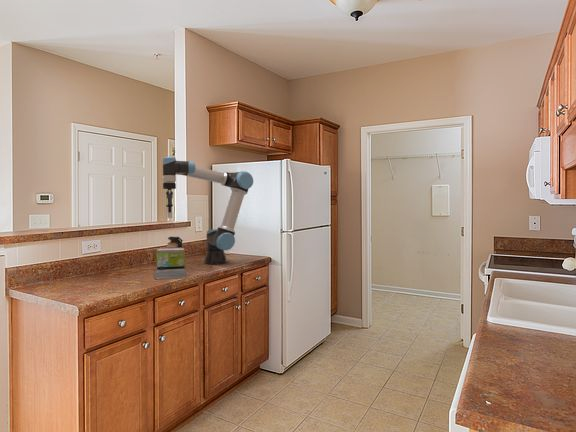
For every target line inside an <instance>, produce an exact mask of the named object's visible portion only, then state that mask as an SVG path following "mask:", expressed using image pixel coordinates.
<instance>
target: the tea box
mask: <svg viewBox="0 0 576 432" xmlns="http://www.w3.org/2000/svg"><path fill="white" fill-rule="evenodd" d="M156 268H157V273H159V272H179V271H186V249H185V248H184V247H182V248H167V247H163V248H162V247H160V248H157V247H156Z"/></svg>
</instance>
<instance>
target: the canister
mask: <svg viewBox="0 0 576 432" xmlns="http://www.w3.org/2000/svg"><path fill="white" fill-rule="evenodd" d="M167 240H169V242H167V244H166V248H183V241H184V240H183V239H182V238H180V237H179V236H169V237H168V238H167Z"/></svg>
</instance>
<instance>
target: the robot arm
mask: <svg viewBox="0 0 576 432" xmlns="http://www.w3.org/2000/svg"><path fill="white" fill-rule="evenodd" d="M177 175H179V176H184V177H189V178H190V177H191V178H193V179H194V178H195V179H198V180H204V181H208V182H213V183H216V184H220V185H222V186H224V187H228V188H230V190H231V193H230V197H229V200H228V202H227V206H226V209H225V212H224V216H223V219H222V221H221V225H219V226H218V227H217V228H216V229H215V228H214V229H213V228H212V229H208V230H207V231H206V235H205V236H206V254H205V257H204V259H203V260H204V262H203V263H204V264H206V265H222V264H227V261H228V260H227V256H226V253H225V251H228V250H231V249H232V248H233V247H234V246H235V243H236V237H235V234H236V231H235V226H236V223H237V221H238V217H239V214H240V210H241V207H242V203H243V200H244V197H245V195H247V194H248V193H249V189H250V188H252V186H253V184H254V178H253V176H252V174H251V173H250V172H248V171H244V170H241V171H237V172H229V171H224V172H221V171H217V170H213V169H209V168H204V167H200V166H196V163H195V162H194V161H190V160H189V161H187V160H177V159H176V157H175V156H164V157H163V158H162V176H161V179H162V182H163V183H162V189H163V190H166V192H165V195H166V200H167V205H165V206H166V209H167V211H166V212H167V217H166V218H167V219H173V206H174V205H173V198H174V197H173V196H174V192H173V190H176V189H177V183H176V182H177Z"/></svg>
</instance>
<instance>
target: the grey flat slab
mask: <svg viewBox="0 0 576 432" xmlns="http://www.w3.org/2000/svg"><path fill="white" fill-rule="evenodd" d="M184 278H185V279H187V271H186V270H185V271H179V272H159V273H157V267H156V268H155V272H154V280H166V279H168V280H169V279H170V280H171V279H184Z"/></svg>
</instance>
